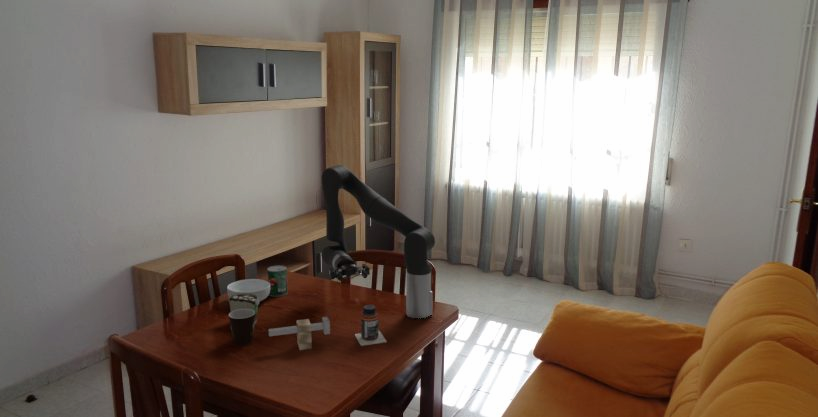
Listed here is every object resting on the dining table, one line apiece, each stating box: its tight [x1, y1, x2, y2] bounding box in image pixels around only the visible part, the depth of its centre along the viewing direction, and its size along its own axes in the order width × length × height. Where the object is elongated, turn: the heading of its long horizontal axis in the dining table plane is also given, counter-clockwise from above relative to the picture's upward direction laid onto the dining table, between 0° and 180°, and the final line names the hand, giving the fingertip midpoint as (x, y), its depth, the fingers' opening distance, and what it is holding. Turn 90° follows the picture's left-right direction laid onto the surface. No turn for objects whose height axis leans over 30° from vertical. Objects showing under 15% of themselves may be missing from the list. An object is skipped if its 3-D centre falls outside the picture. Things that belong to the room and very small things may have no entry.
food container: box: [227, 293, 260, 327], centre depth 220 cm, size 12×6×10 cm, turn 71°
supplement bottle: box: [360, 304, 379, 340], centre depth 205 cm, size 6×6×11 cm
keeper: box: [296, 318, 313, 351], centre depth 199 cm, size 4×5×9 cm
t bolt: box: [267, 316, 331, 337], centre depth 198 cm, size 20×4×4 cm, turn 109°
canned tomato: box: [266, 264, 289, 298], centre depth 248 cm, size 8×8×11 cm
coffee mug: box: [228, 309, 255, 346], centre depth 204 cm, size 12×9×10 cm
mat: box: [354, 330, 387, 347], centre depth 206 cm, size 9×9×1 cm
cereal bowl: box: [226, 278, 270, 302], centre depth 239 cm, size 17×17×7 cm
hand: (353, 277), depth 211 cm, fingers open, 8 cm apart
